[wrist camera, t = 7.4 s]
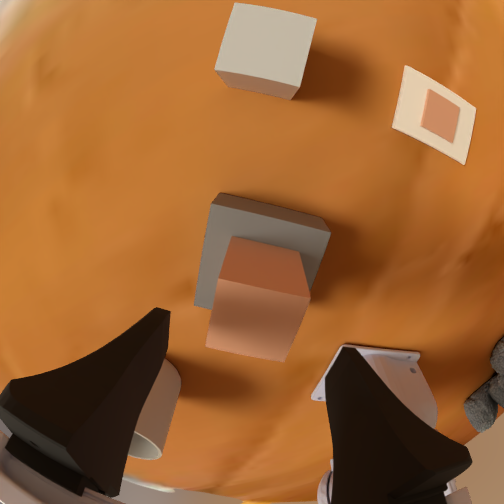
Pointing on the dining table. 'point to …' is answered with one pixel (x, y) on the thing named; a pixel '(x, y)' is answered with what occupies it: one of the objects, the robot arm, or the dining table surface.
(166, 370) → the cup
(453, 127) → the card
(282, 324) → the terracotta block
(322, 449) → the dining table surface
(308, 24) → the beige block
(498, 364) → the koala plush
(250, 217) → the grey slab
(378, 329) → the dining table surface
